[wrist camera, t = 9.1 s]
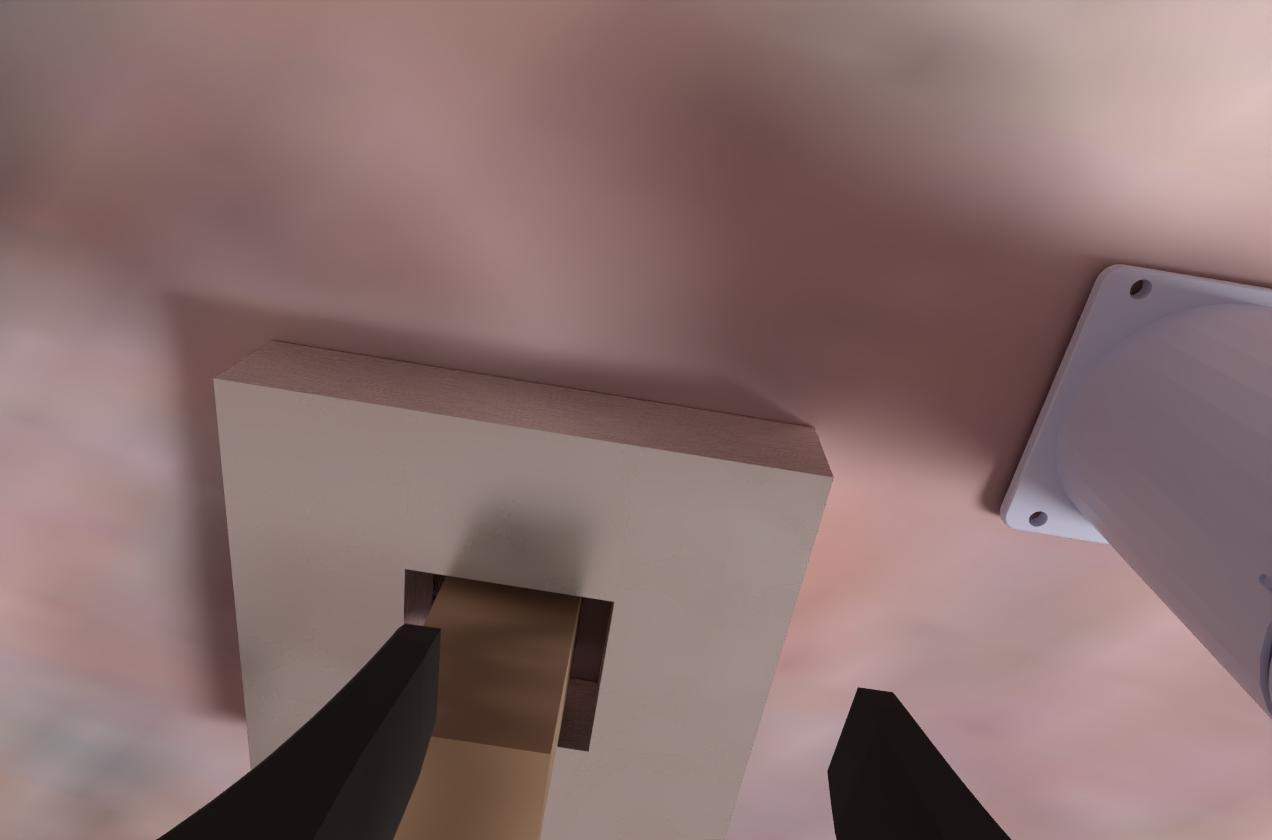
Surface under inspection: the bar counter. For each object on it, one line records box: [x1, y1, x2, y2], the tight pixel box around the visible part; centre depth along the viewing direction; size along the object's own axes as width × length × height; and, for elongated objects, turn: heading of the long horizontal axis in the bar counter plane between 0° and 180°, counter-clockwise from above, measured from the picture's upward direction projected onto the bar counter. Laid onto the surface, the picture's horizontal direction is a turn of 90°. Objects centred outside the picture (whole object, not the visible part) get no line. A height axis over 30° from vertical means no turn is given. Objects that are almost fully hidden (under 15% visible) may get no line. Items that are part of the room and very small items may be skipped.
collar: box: [213, 341, 834, 840], centre depth 24 cm, size 16×16×3 cm
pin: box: [393, 576, 583, 840], centre depth 21 cm, size 4×4×8 cm
